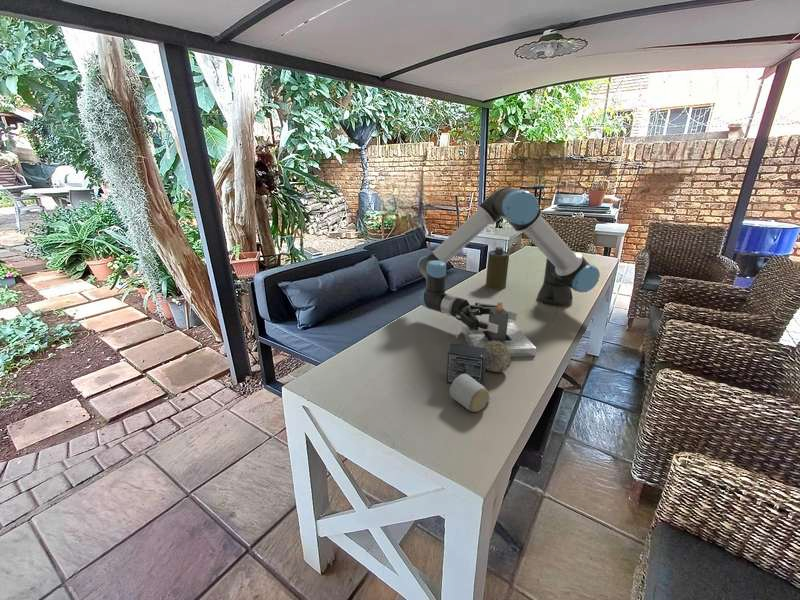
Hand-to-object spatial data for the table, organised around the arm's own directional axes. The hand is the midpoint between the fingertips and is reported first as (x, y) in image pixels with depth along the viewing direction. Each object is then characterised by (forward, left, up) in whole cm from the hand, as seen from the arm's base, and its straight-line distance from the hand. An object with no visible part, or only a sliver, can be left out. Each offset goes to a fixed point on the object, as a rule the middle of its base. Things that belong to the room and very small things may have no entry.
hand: (507, 322), depth 126 cm
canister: (-19, -63, -9) cm, 67 cm away
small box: (+19, +20, -9) cm, 29 cm away
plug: (+2, -3, -9) cm, 9 cm away
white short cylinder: (+20, +30, -9) cm, 37 cm away
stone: (+9, +15, -9) cm, 20 cm away
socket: (+2, -2, -9) cm, 10 cm away
